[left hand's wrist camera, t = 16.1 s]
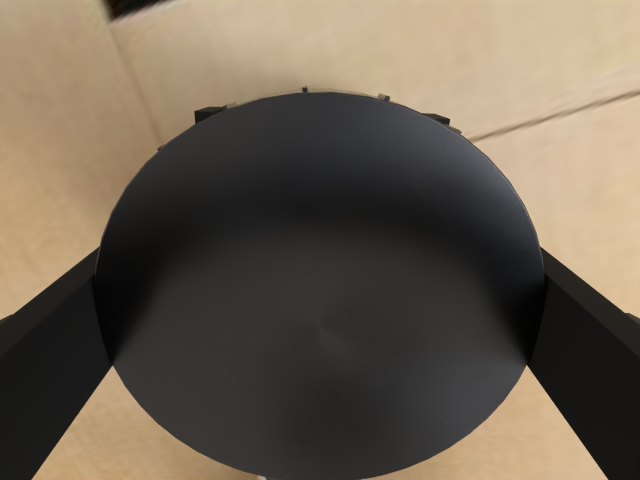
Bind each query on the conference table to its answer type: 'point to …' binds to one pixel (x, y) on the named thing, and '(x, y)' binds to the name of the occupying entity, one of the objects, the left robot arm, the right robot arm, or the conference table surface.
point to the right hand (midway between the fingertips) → (322, 112)
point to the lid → (319, 286)
